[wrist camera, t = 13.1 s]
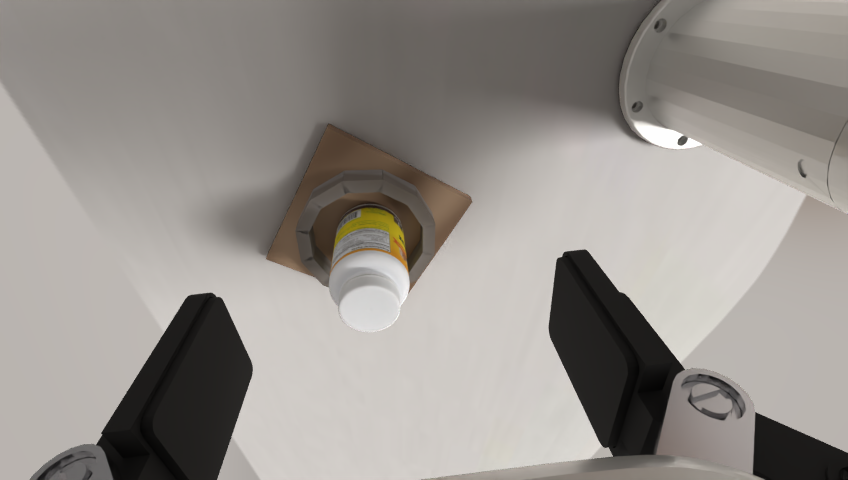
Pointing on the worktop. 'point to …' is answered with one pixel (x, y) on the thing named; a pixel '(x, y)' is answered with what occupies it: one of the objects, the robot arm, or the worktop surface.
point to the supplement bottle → (369, 268)
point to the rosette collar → (363, 184)
